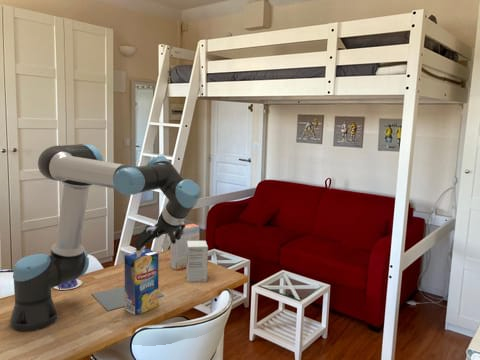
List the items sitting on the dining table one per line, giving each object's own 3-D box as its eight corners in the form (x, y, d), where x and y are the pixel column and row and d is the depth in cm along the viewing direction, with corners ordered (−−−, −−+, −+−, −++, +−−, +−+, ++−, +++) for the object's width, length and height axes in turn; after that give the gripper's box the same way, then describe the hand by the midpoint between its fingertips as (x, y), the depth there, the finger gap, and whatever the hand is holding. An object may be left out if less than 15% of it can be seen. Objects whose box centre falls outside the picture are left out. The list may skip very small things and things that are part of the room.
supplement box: (186, 274, 196) (186, 240, 193) (205, 273, 197) (205, 239, 195) (187, 282, 186) (187, 246, 184) (207, 281, 188) (208, 246, 186)
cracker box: (193, 261, 213) (193, 222, 210) (199, 265, 208) (200, 225, 205) (169, 267, 204) (169, 226, 201) (175, 271, 199) (176, 229, 196)
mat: (107, 311, 156) (107, 310, 156) (91, 294, 170) (91, 293, 170) (164, 296, 171) (164, 295, 171) (145, 282, 185) (145, 281, 185)
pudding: (70, 293, 172) (69, 281, 171) (46, 289, 175) (45, 277, 174) (87, 282, 183) (87, 271, 183) (65, 278, 187) (64, 267, 186)
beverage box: (158, 305, 162) (158, 252, 159) (135, 315, 154) (135, 259, 150) (147, 300, 166) (147, 248, 163) (124, 309, 158) (124, 255, 155)
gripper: (144, 231, 123) (124, 266, 137) (205, 221, 136) (181, 254, 151) (136, 210, 126) (117, 246, 141) (197, 203, 140) (174, 237, 154)
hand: (150, 250), depth 146 cm, fingers open, 9 cm apart
